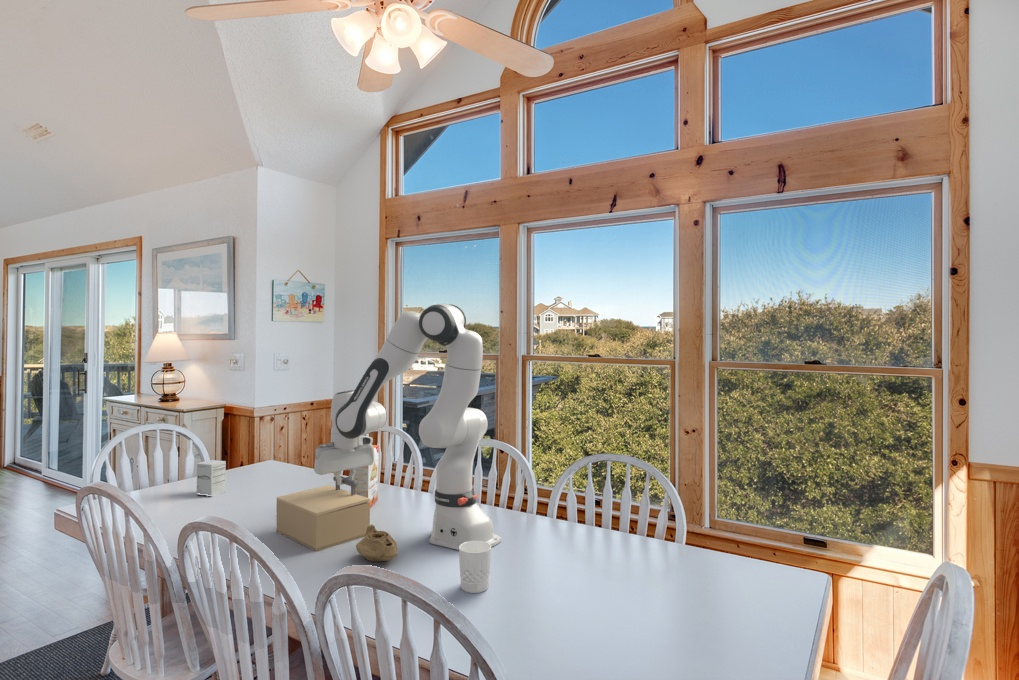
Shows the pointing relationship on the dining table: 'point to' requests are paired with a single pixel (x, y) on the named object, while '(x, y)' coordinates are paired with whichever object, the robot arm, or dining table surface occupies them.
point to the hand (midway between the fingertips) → (345, 483)
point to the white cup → (474, 566)
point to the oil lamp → (377, 545)
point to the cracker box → (368, 479)
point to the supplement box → (211, 477)
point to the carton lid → (325, 498)
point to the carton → (323, 525)
